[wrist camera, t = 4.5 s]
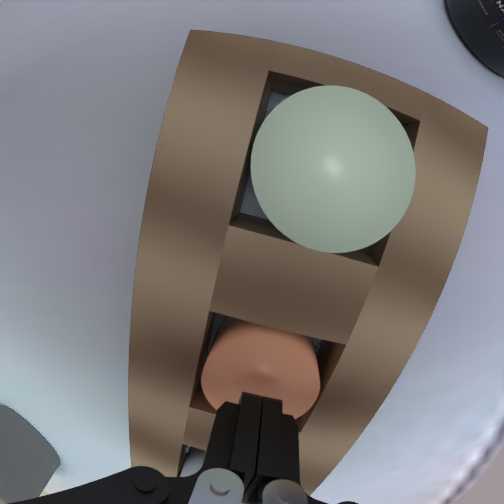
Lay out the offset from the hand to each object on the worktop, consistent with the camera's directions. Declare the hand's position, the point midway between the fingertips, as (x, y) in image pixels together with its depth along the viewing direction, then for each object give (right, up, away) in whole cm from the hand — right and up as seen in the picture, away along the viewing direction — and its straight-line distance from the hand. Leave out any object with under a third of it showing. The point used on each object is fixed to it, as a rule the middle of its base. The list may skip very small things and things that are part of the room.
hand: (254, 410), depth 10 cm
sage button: (+3, +9, +1) cm, 9 cm away
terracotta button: (+1, +1, +4) cm, 5 cm away
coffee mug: (-28, -16, +13) cm, 34 cm away
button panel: (+1, +1, +5) cm, 5 cm away
